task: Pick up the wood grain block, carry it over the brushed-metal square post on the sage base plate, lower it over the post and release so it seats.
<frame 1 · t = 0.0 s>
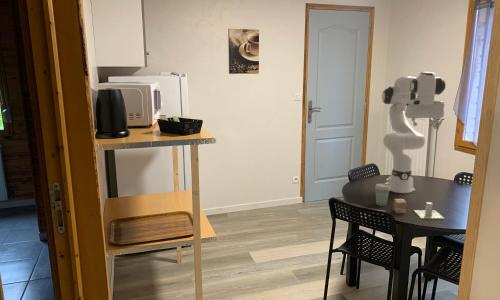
hand: (423, 125, 213), 48 cm above the table, fingers open, 8 cm apart
coffee cup: (381, 204, 226), on the table
post: (428, 215, 208), on the table
wood grain block: (399, 211, 214), on the table
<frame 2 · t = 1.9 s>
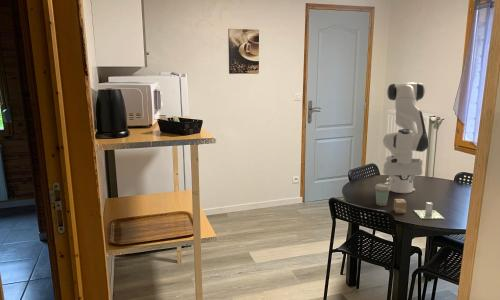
hand: (401, 182, 211), 17 cm above the table, fingers open, 8 cm apart
nothing on the table moved.
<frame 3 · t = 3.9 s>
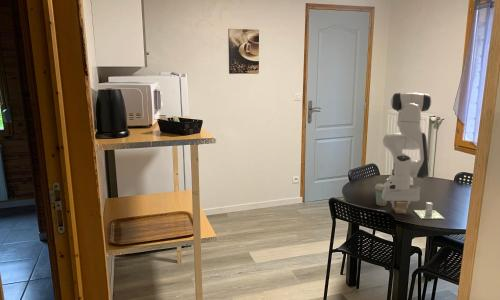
hand: (399, 207, 214), 2 cm above the table, fingers closed on wood grain block, 5 cm apart
wood grain block: (399, 211, 214), on the table, touching gripper
everything else where it was.
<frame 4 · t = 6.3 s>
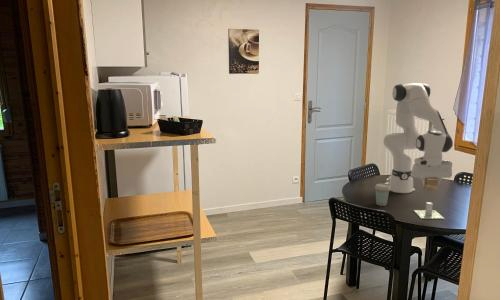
hand: (430, 185, 205), 17 cm above the table, fingers closed on wood grain block, 5 cm apart
wood grain block: (430, 189, 205), point 15 cm above the table, touching gripper
everything else where it was.
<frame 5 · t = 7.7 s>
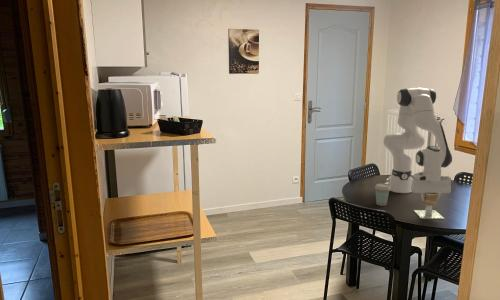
hand: (429, 200, 206), 9 cm above the table, fingers closed on wood grain block, 5 cm apart
wood grain block: (429, 204, 207), point 6 cm above the table, touching gripper
everything else where it was.
when the fingers open (5 cm above the table, at t = 8.9 s): wood grain block drops 1 cm, resting on post.
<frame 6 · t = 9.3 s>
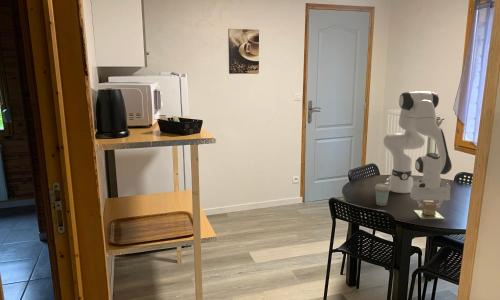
hand: (429, 207, 207), 5 cm above the table, fingers open, 8 cm apart
wood grain block: (428, 213, 208), point 1 cm above the table, touching post
everything else where it was.
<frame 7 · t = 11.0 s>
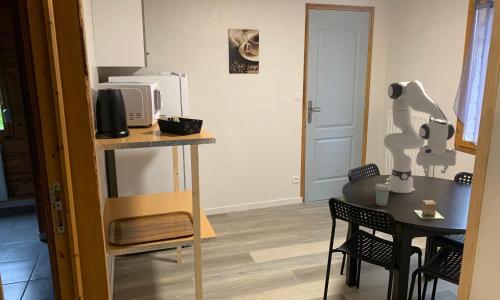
hand: (434, 172, 210), 22 cm above the table, fingers open, 8 cm apart
nothing on the table moved.
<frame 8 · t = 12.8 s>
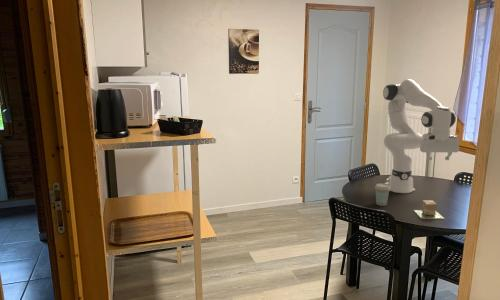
hand: (438, 159, 212), 29 cm above the table, fingers open, 8 cm apart
nothing on the table moved.
at the end: wood grain block 0.0 cm from the post (horizontally); wood grain block point 1.0 cm above the table; the gripper is holding nothing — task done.
